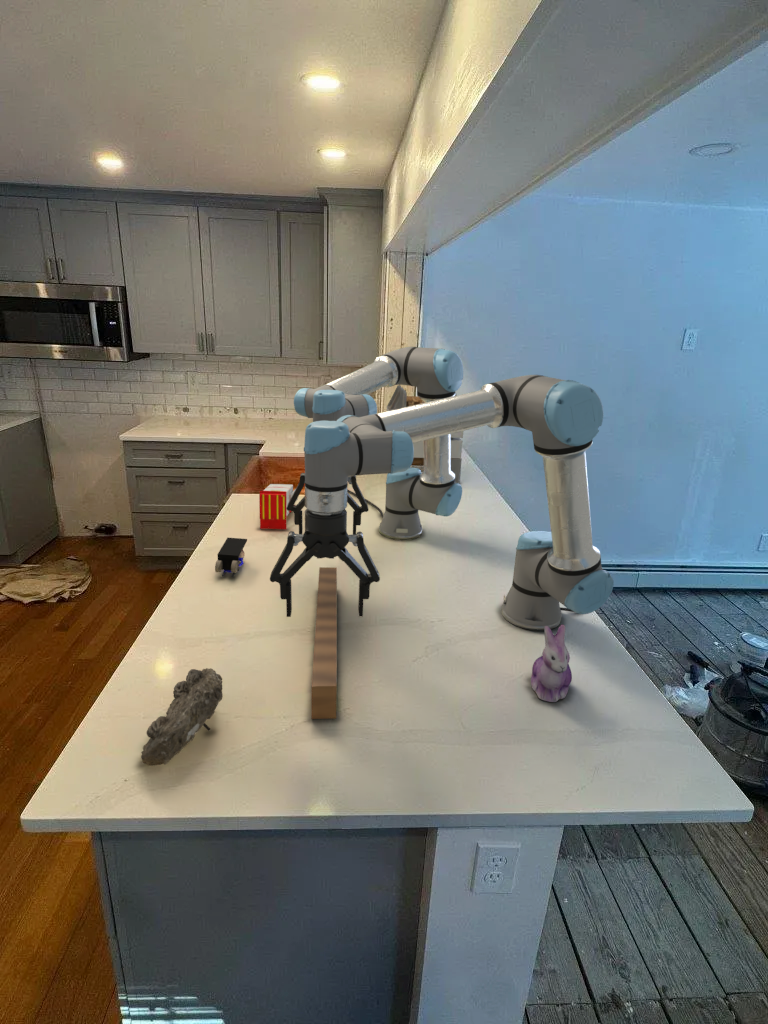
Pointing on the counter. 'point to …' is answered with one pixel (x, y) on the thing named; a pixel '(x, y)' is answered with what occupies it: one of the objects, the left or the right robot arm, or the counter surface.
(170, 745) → the fossil
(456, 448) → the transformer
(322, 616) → the bar
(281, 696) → the counter surface
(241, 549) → the black toy car
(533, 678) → the figurine
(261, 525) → the toy
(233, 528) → the counter surface
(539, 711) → the counter surface
